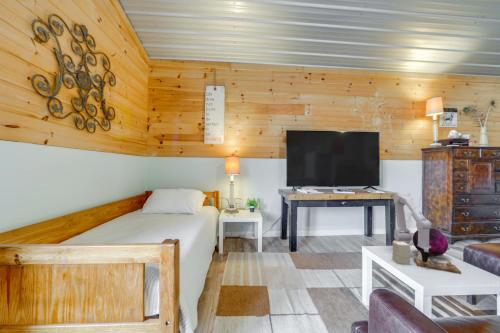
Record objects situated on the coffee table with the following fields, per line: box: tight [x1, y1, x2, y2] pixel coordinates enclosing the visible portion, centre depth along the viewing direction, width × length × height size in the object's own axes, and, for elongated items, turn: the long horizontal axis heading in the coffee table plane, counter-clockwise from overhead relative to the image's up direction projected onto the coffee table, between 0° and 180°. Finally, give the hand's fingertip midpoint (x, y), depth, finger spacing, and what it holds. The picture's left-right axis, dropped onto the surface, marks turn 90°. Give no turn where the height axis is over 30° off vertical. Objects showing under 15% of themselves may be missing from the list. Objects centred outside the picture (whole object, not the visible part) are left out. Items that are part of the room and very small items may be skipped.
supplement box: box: [391, 240, 411, 265], centre depth 146 cm, size 7×7×13 cm
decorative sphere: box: [412, 227, 449, 258], centre depth 159 cm, size 20×20×20 cm
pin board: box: [413, 257, 462, 275], centre depth 140 cm, size 21×11×4 cm, turn 64°
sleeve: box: [417, 250, 430, 264], centre depth 143 cm, size 5×5×6 cm
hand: (423, 259), depth 143 cm, fingers open, 7 cm apart
